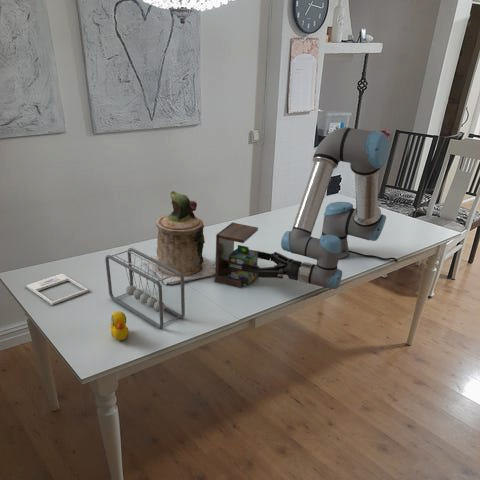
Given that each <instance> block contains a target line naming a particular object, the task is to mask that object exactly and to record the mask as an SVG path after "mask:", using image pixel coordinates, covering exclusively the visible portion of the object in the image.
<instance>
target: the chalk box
mask: <svg viewBox="0 0 480 480" xmlns="http://www.w3.org/2000/svg"><path fill="white" fill-rule="evenodd" d="M258 251H259V250H253V249H250V247H249V246H246V245H240V244H238V245H237V248H236V249H234V251H233V252H232V253H231V254H230V255H229V271H228V273H227V274H228V275H227V277H231V278H235V279H239V280H242V285H243V286H249V285H250V284H251V283H252V282H253V281H254V280H255V279H257V278H258V277H257V274H256V273H251V272H247V271H243V270H242V263H244V264H249V265H253V266H258V264H259V263H258V261H259V258H258Z"/></svg>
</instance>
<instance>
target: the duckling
mask: <svg viewBox="0 0 480 480" xmlns="http://www.w3.org/2000/svg"><path fill="white" fill-rule="evenodd" d="M110 318H111V319H110V320H111V322H110V333H111V337H112V338H114V339H115V340H117V341H123V340H126V339H127V338H128V335H129V333H130V331H129V327H128V326H127V315H126V314H125V313H124V312H123V311H114V312H113V313H112V314H111V317H110Z"/></svg>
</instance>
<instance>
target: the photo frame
mask: <svg viewBox="0 0 480 480" xmlns="http://www.w3.org/2000/svg"><path fill="white" fill-rule="evenodd" d="M65 282H70V283H71V284H73V285H75V286H76V287H78V288H80V289H81V290H79V291H77V292H74V293H71V294H68V295H66V296H63V297H61V298H58V299H56V300H53V301H52V300H51V298H48V297H47V296H46V295H44V294H42V293H41V292H39V291H43V290H45V289H48V288H51V287H54V286H57V285H60V284H63V283H65ZM26 289H28V290H29V291H31V292H33V293H34V294H36V295H37V296H38V297H40V298H41V299H43V300H44V301H45V302H47V303H48V304H50V305H51V306H54V305H56V304H59V303H62V302H64V301H67V300H70V299H73V298H75V297H78V296H81V295H83V294H86V293H88V292H89V289H88V288H87V287H86V286H84V285H82V284H80V283H79V282H78V281H76V280H74V279H72V278H70V277H69V276H67V275H65V274H64V273H59V274H56V275H53V276H50V277H46V278H44V279H40V280H38V281H35V282H32V283H29V284H26Z"/></svg>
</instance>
